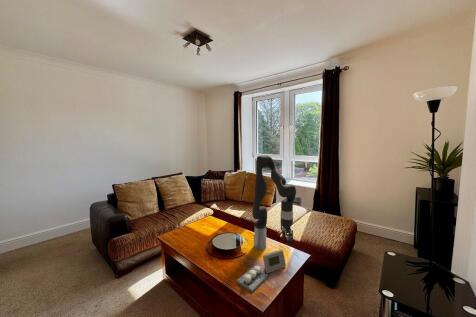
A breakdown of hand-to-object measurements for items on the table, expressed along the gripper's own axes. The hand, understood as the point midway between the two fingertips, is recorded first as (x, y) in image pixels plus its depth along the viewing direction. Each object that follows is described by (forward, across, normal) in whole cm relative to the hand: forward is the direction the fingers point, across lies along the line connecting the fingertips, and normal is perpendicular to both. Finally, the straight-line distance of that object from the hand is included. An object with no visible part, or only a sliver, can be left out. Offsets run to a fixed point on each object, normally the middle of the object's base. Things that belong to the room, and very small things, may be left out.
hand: (286, 241), depth 124 cm
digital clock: (+24, -7, -5) cm, 25 cm away
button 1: (+22, +4, -26) cm, 34 cm away
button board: (+23, 0, -22) cm, 32 cm away
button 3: (+22, -3, -18) cm, 28 cm away
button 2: (+22, 0, -22) cm, 31 cm away
